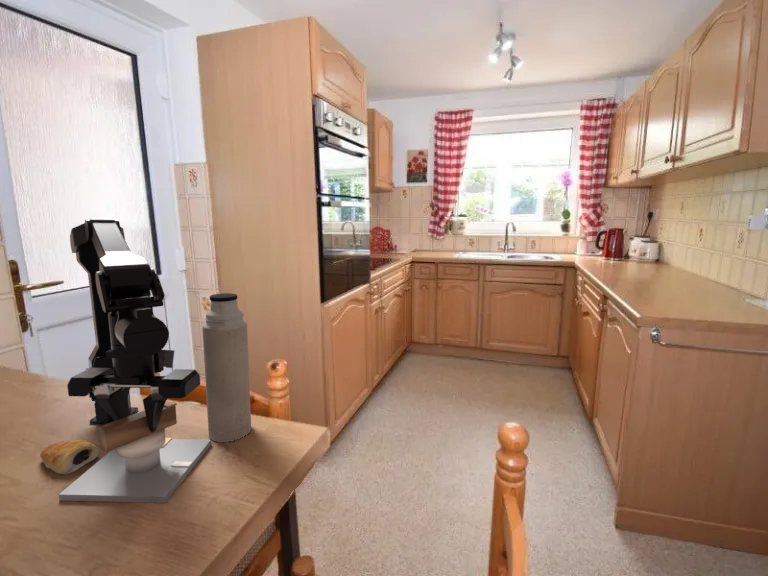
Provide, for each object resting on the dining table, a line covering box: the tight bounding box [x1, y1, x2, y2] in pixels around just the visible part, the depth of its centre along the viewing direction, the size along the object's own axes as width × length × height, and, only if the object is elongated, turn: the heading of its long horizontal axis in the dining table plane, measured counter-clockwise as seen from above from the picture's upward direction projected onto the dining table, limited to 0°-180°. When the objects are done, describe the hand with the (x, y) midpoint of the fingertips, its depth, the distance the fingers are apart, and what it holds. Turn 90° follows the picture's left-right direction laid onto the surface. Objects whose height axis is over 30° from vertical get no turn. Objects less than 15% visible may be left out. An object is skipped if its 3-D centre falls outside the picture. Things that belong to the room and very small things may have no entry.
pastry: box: [39, 438, 100, 475], centre depth 71 cm, size 9×7×4 cm
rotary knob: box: [98, 399, 178, 458], centre depth 68 cm, size 7×11×6 cm, turn 146°
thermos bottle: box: [201, 292, 252, 443], centre depth 79 cm, size 8×8×28 cm
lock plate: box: [58, 437, 212, 504], centre depth 68 cm, size 16×16×4 cm
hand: (140, 430), depth 68 cm, fingers closed on rotary knob, 4 cm apart
